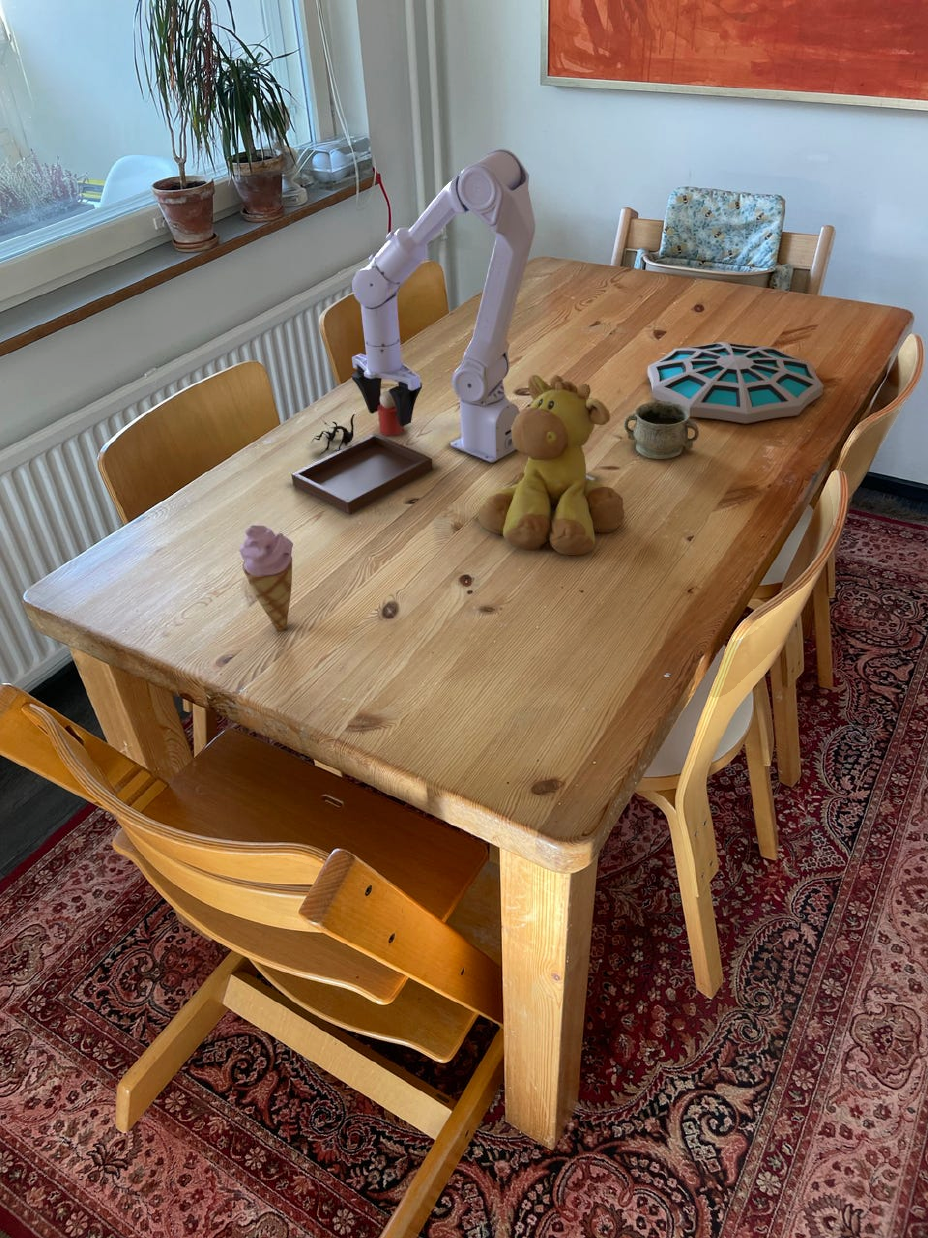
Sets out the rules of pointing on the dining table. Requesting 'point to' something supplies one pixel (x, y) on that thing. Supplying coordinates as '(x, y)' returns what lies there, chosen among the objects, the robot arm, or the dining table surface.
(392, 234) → the robot arm
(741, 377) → the decorative platform
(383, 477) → the tray
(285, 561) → the ice cream cone
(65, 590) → the dining table surface
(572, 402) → the giraffe plush
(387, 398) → the peg doll
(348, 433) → the creature
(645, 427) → the vessel
